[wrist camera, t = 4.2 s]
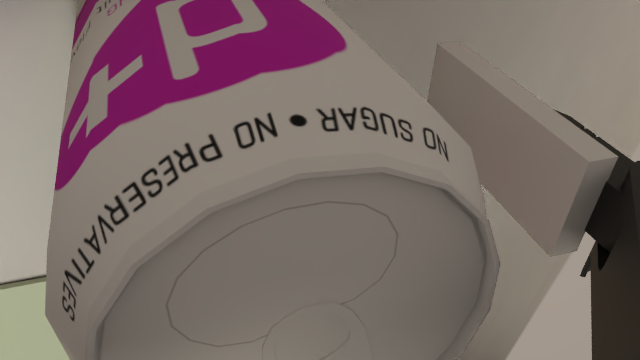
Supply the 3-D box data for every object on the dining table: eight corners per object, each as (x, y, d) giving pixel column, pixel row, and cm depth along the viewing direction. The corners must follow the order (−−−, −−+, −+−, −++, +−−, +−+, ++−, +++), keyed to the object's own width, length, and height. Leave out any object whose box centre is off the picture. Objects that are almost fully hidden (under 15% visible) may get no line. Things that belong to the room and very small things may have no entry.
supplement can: (28, -43, 17) (-121, 286, 6) (266, -118, 18) (545, 37, 7) (136, 152, 22) (170, 531, 11) (317, 85, 23) (524, 371, 12)
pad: (111, 264, 25) (111, 269, 25) (141, 378, 31) (141, 382, 30) (-138, 310, 23) (-140, 316, 22) (-59, 426, 28) (-60, 431, 28)
